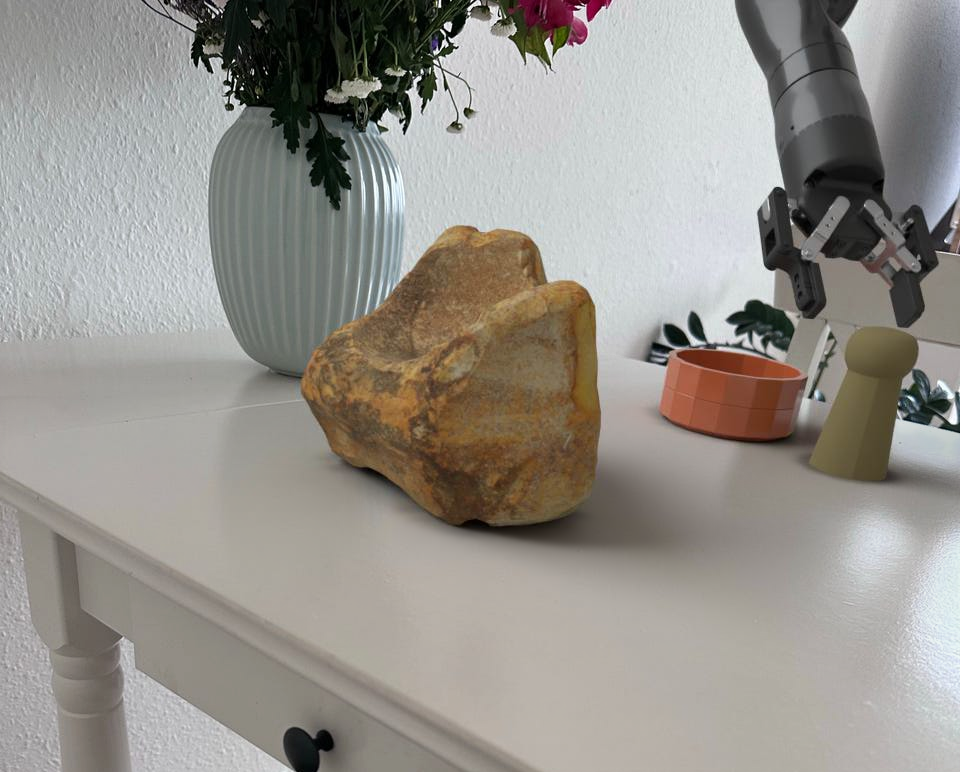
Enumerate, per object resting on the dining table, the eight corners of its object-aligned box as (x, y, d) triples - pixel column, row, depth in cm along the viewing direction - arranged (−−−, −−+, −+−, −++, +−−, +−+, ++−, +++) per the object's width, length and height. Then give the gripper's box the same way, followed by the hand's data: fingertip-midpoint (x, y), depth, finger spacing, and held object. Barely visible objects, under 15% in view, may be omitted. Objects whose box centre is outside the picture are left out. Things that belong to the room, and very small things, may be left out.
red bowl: (751, 411, 92) (765, 353, 90) (816, 448, 82) (834, 383, 80) (637, 404, 89) (649, 344, 87) (690, 442, 79) (705, 374, 77)
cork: (817, 454, 80) (855, 318, 76) (891, 472, 78) (936, 332, 73) (799, 468, 76) (839, 324, 71) (878, 488, 73) (924, 340, 68)
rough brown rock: (298, 433, 71) (285, 214, 64) (515, 426, 75) (527, 218, 67) (319, 569, 52) (304, 277, 44) (612, 552, 55) (644, 278, 48)
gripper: (773, 99, 74) (810, 278, 69) (930, 123, 77) (975, 295, 73) (726, 171, 81) (757, 339, 76) (873, 190, 84) (910, 352, 80)
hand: (864, 317), depth 75 cm, fingers open, 8 cm apart
